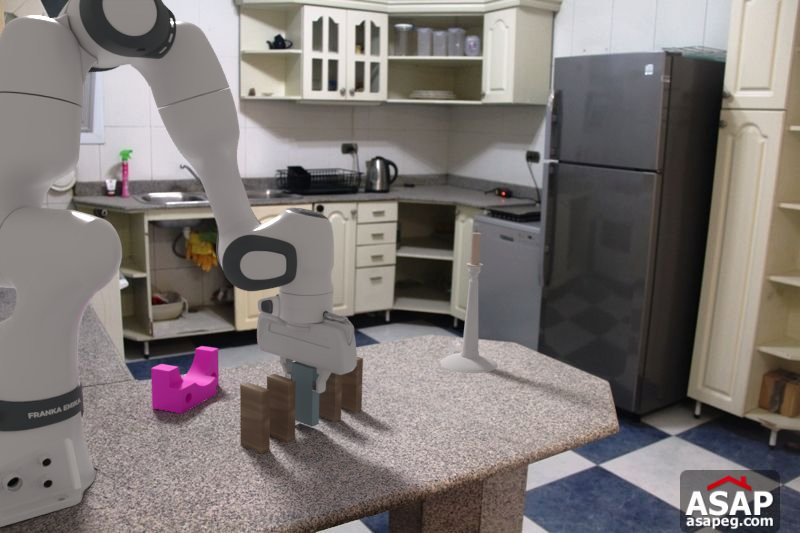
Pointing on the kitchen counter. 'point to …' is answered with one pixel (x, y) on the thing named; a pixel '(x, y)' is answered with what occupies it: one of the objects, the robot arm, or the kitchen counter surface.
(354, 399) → the domino
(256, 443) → the domino
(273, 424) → the domino
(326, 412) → the domino
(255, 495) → the kitchen counter surface
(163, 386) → the toy block
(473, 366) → the candlestick
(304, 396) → the domino
